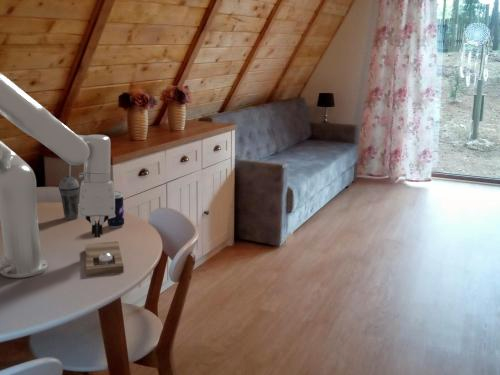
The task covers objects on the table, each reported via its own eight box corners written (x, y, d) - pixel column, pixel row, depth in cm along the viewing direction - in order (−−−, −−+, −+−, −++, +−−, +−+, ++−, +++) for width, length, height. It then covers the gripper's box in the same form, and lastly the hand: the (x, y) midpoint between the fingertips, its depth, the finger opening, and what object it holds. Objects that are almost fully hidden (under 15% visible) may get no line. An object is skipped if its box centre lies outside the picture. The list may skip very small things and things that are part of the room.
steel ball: (104, 257, 163) (105, 269, 161) (95, 253, 160) (95, 266, 158) (115, 252, 162) (116, 264, 160) (105, 248, 159) (106, 261, 157)
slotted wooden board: (123, 272, 156) (123, 265, 156) (86, 276, 154) (86, 269, 153) (118, 247, 175) (118, 241, 174) (85, 250, 172) (85, 244, 171)
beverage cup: (56, 219, 201) (52, 165, 195) (71, 213, 207) (67, 161, 202) (71, 222, 197) (67, 167, 192) (86, 216, 204) (82, 163, 198)
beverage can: (122, 228, 191) (120, 195, 188) (105, 228, 192) (104, 195, 188) (126, 223, 197) (124, 191, 194) (110, 223, 197) (108, 190, 194)
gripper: (70, 180, 156) (71, 241, 161) (124, 179, 161) (123, 239, 165) (70, 174, 163) (71, 233, 168) (122, 174, 168) (121, 231, 172)
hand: (97, 236), depth 166 cm, fingers closed
